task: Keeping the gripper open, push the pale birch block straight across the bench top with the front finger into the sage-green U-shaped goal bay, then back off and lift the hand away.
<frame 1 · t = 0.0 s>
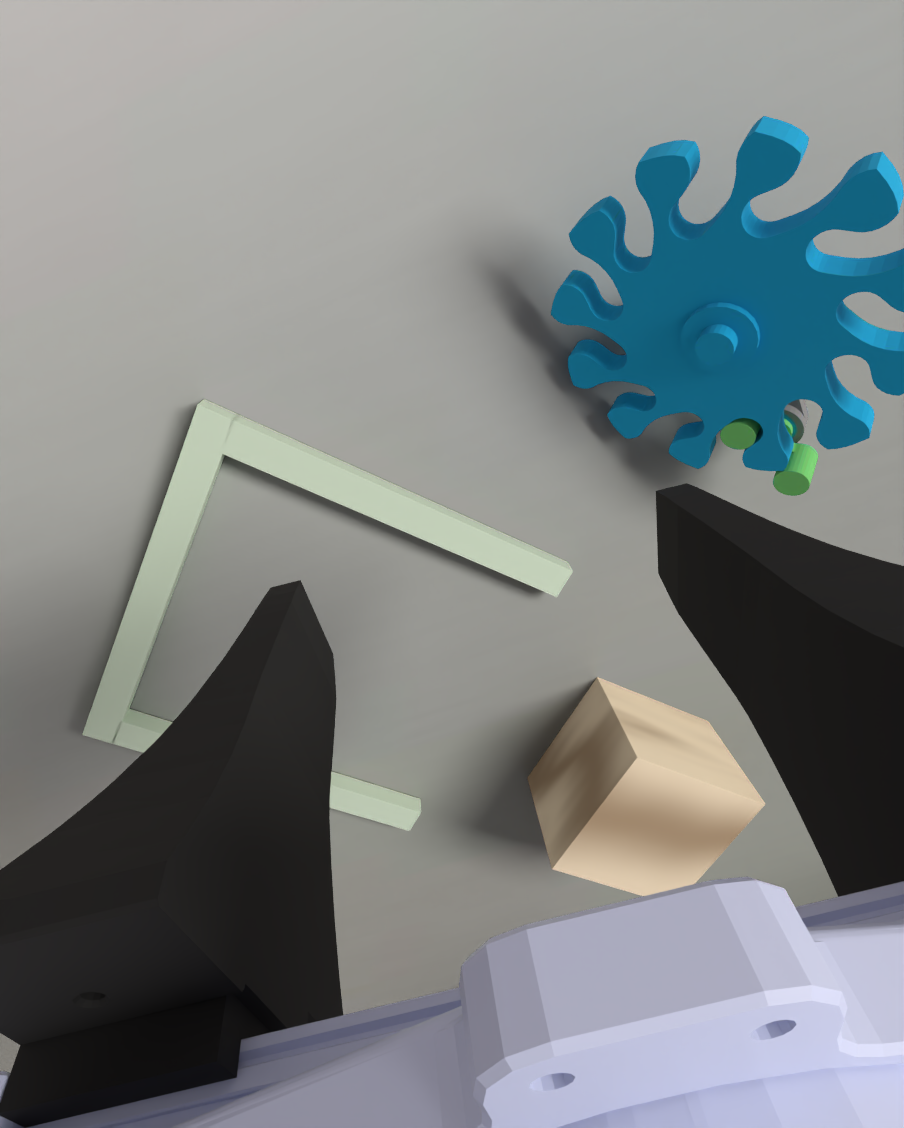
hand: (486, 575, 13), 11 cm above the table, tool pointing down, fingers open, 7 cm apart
goal bay: (348, 652, 26), on the table
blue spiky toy: (676, 328, 22), on the table
block: (616, 747, 29), on the table
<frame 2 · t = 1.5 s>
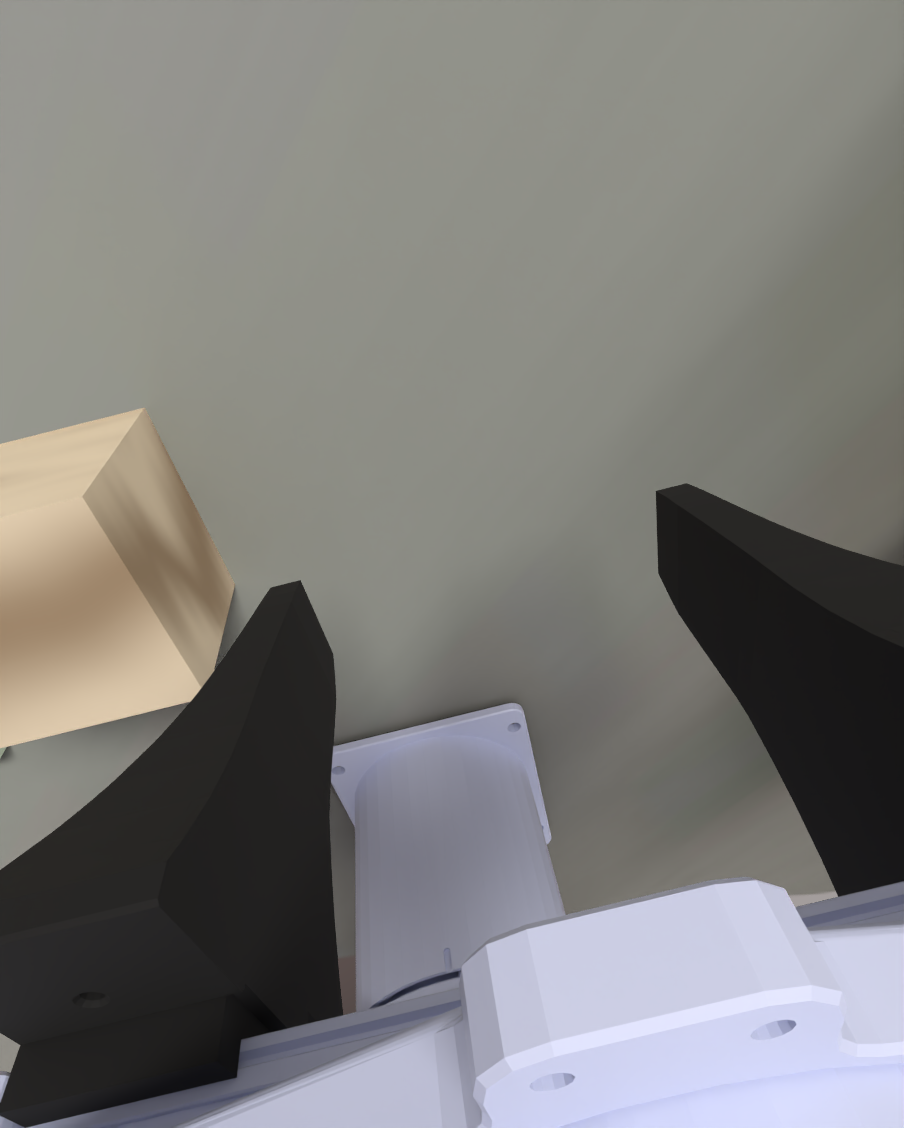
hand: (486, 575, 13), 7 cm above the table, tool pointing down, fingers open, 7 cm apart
block: (95, 527, 19), on the table
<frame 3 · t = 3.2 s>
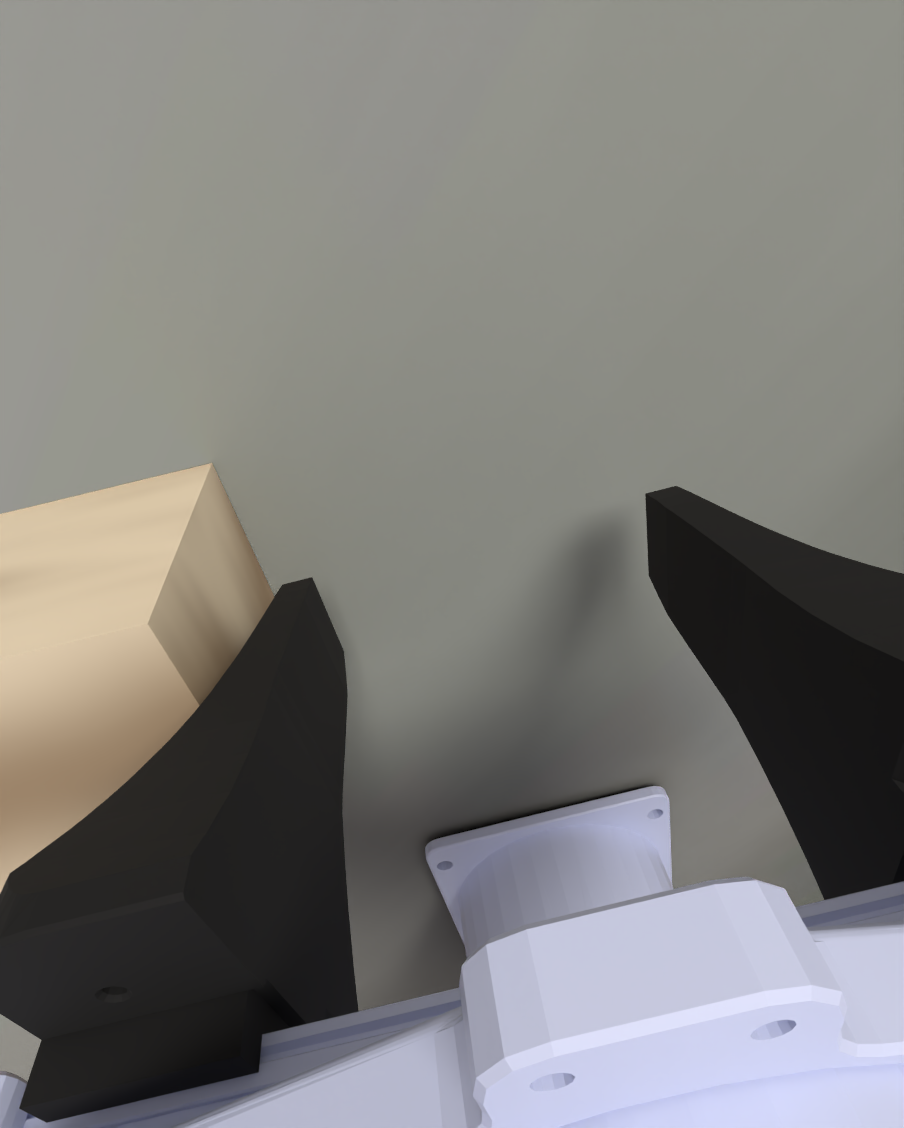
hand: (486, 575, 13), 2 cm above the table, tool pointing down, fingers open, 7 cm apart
block: (138, 610, 15), on the table, touching gripper
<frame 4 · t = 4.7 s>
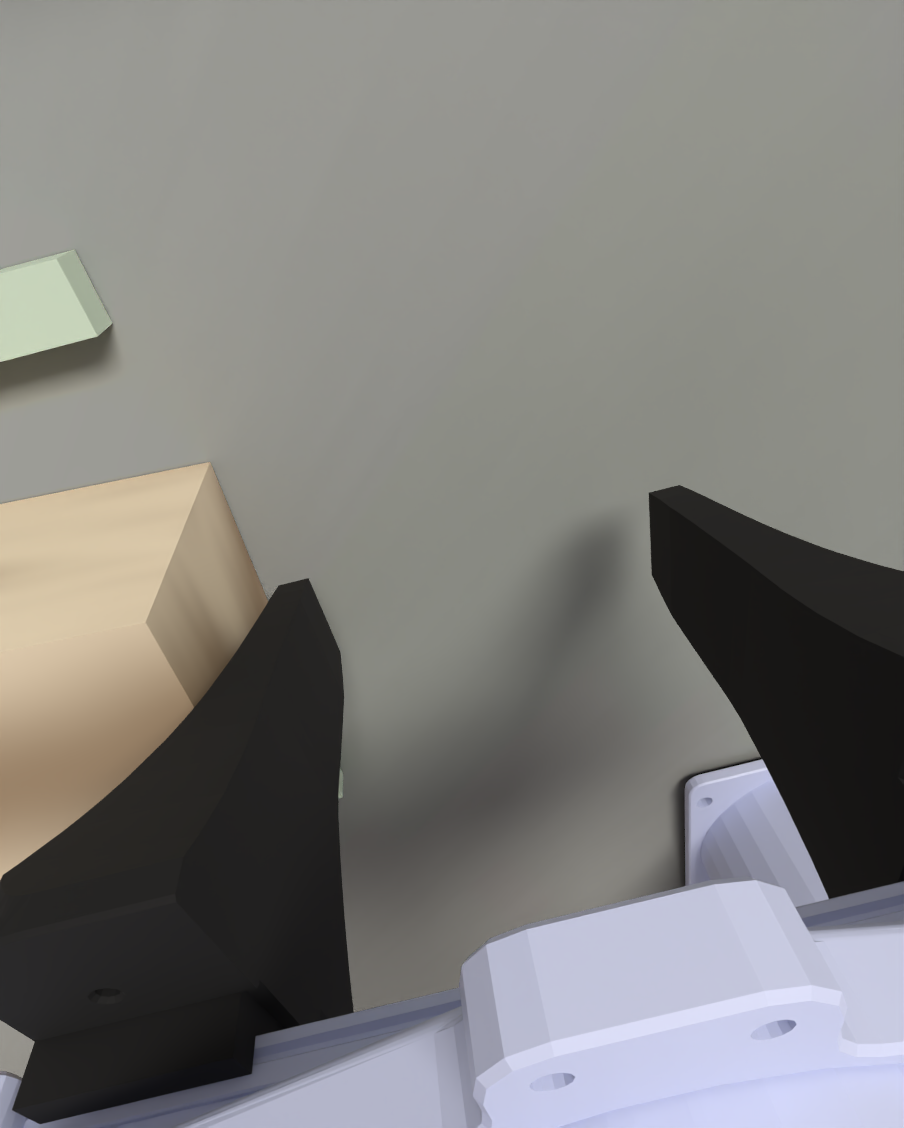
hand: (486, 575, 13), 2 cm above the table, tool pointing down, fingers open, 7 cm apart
block: (128, 607, 15), on the table, touching gripper
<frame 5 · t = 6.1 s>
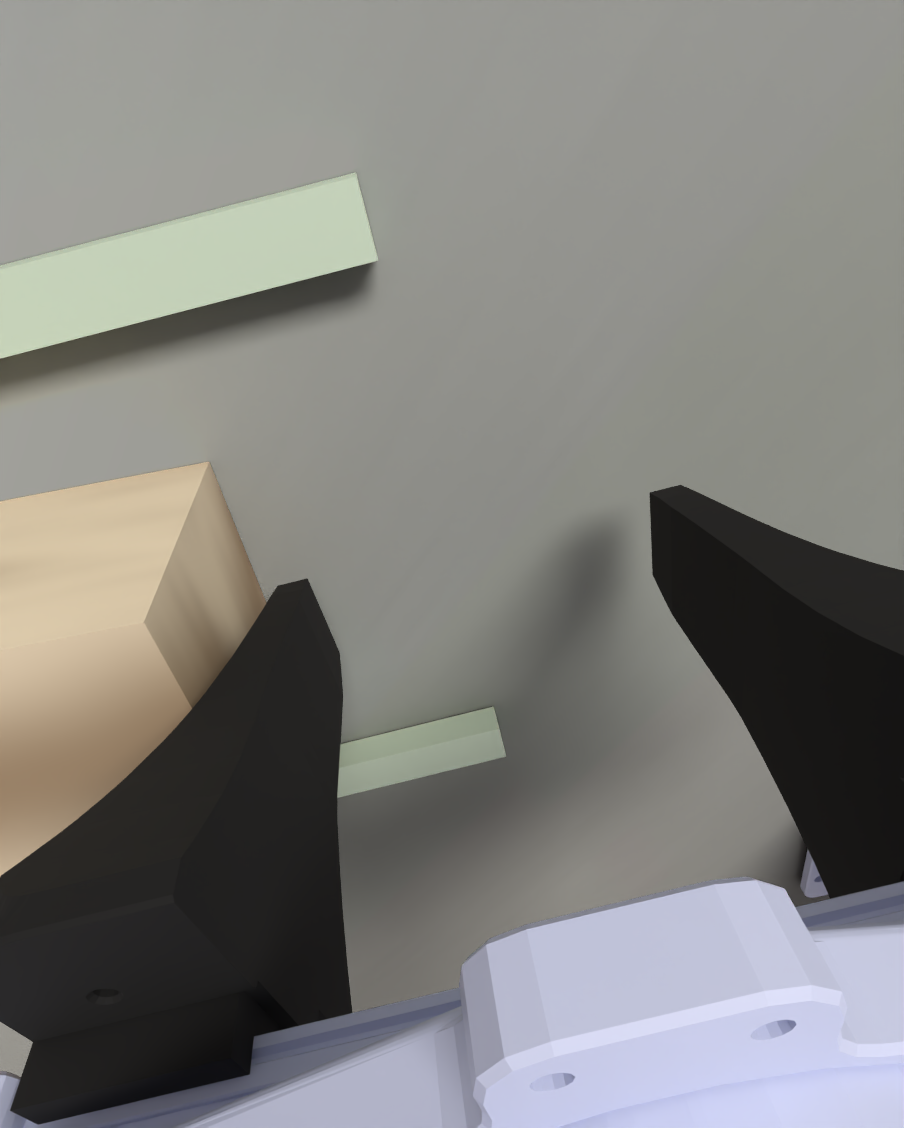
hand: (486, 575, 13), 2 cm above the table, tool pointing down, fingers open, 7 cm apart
goal bay: (191, 597, 15), on the table
block: (125, 605, 15), on the table, touching gripper
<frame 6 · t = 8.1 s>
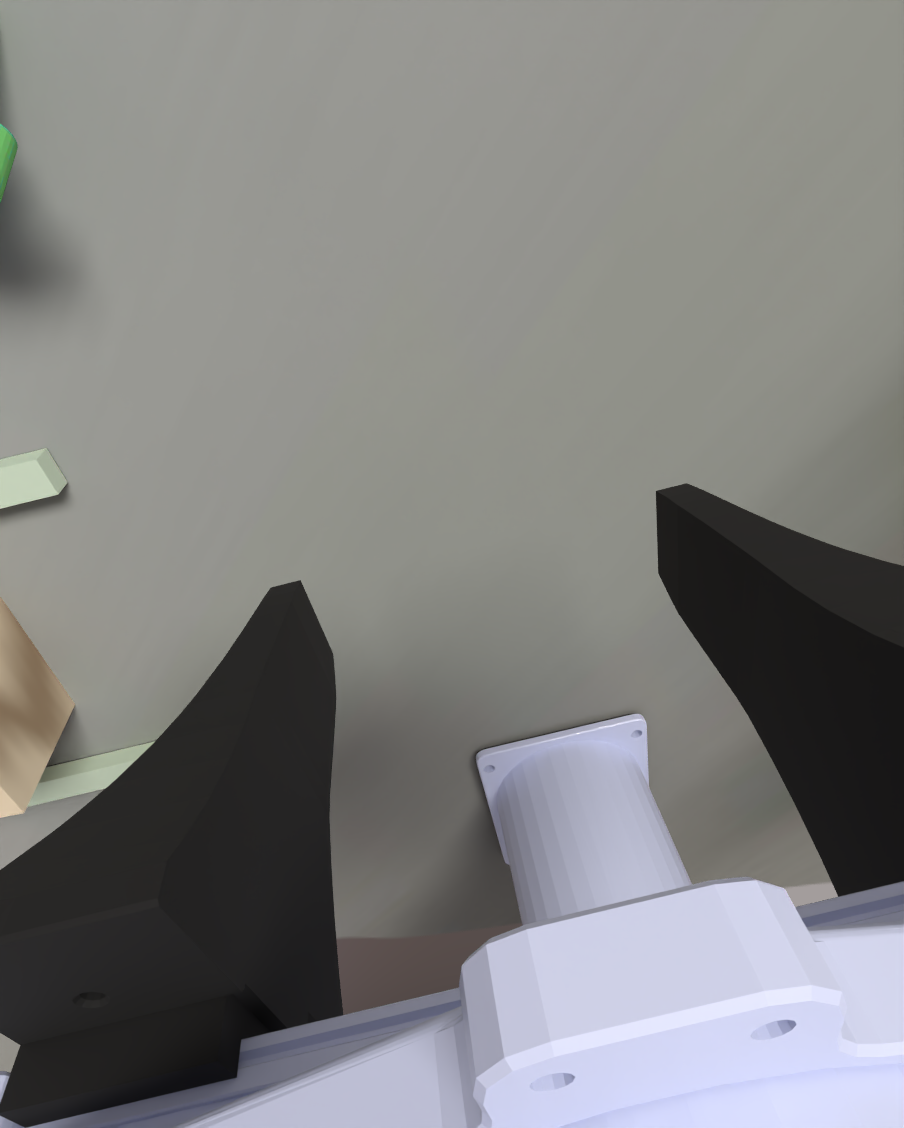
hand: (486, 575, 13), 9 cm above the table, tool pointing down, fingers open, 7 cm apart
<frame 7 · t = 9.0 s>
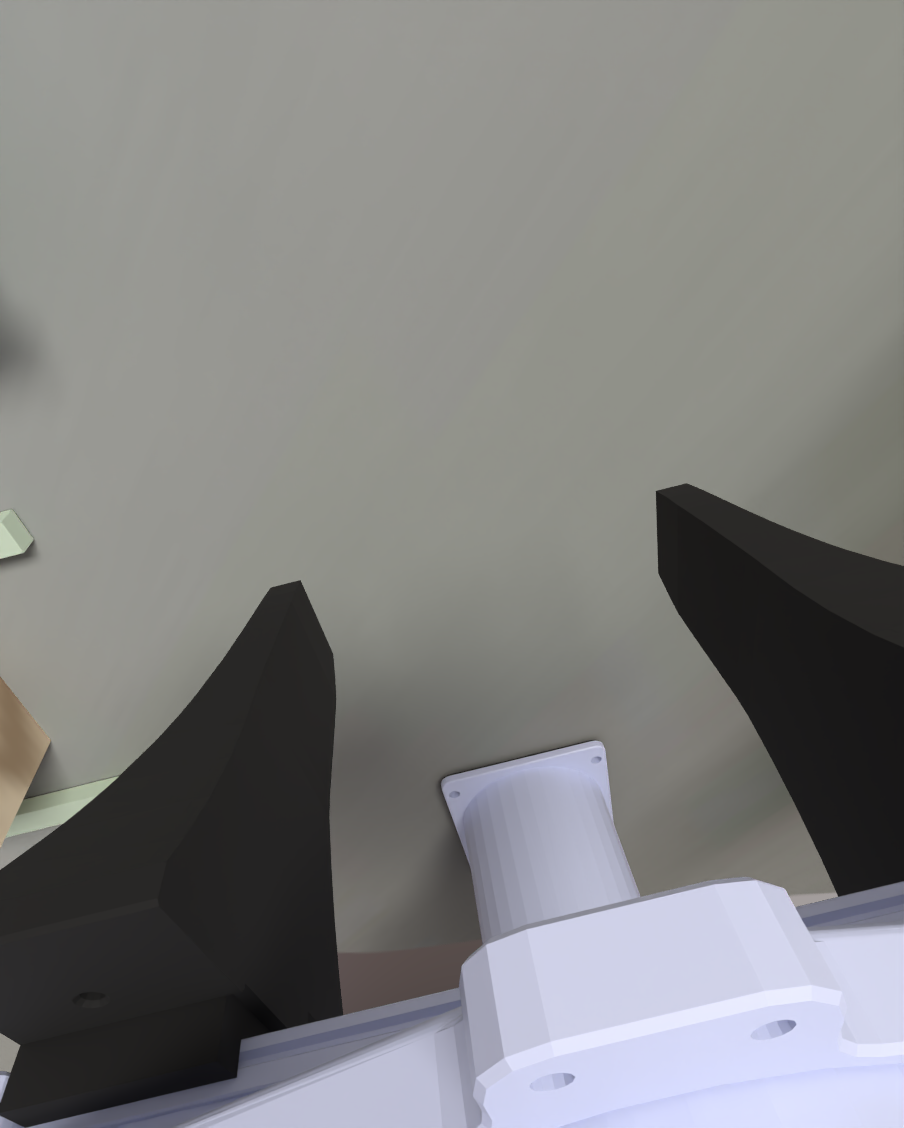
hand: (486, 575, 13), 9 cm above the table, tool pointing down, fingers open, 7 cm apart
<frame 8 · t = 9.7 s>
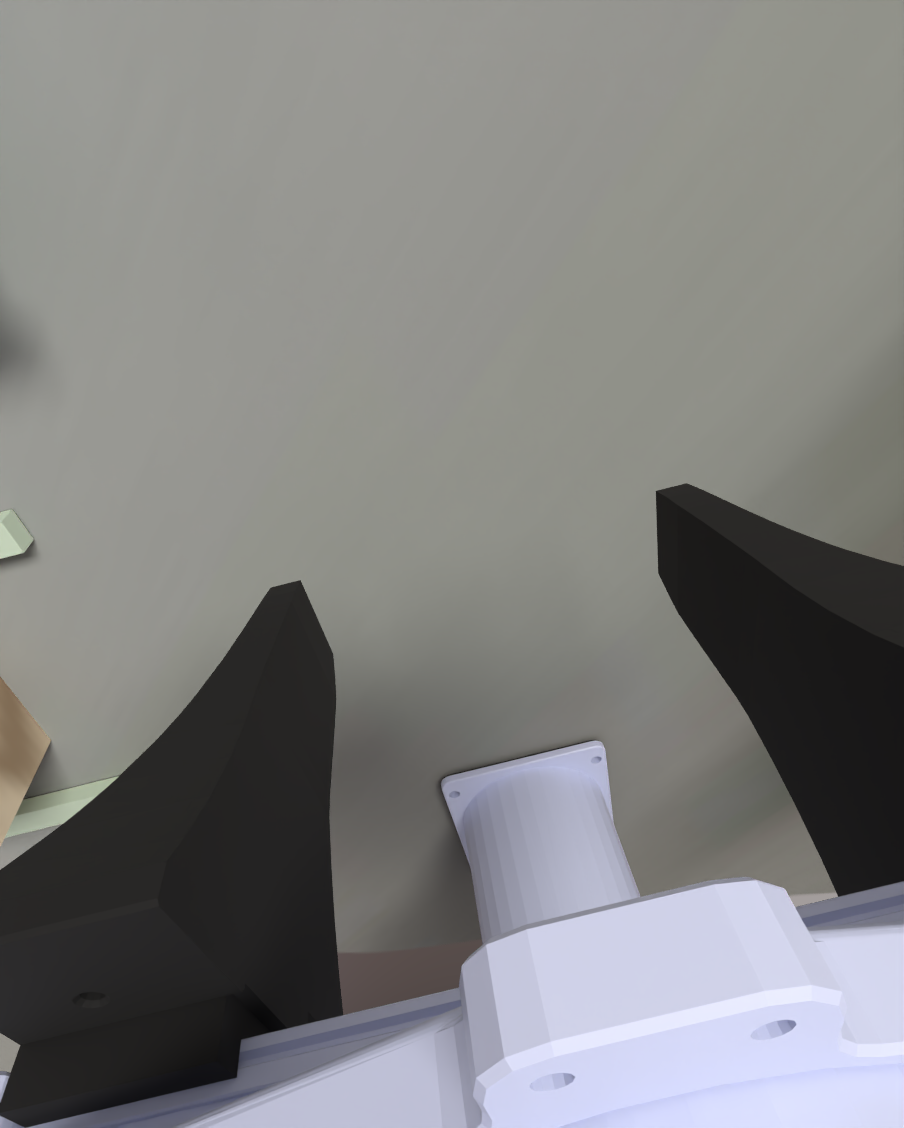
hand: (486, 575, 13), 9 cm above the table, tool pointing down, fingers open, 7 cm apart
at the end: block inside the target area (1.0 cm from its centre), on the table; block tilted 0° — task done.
